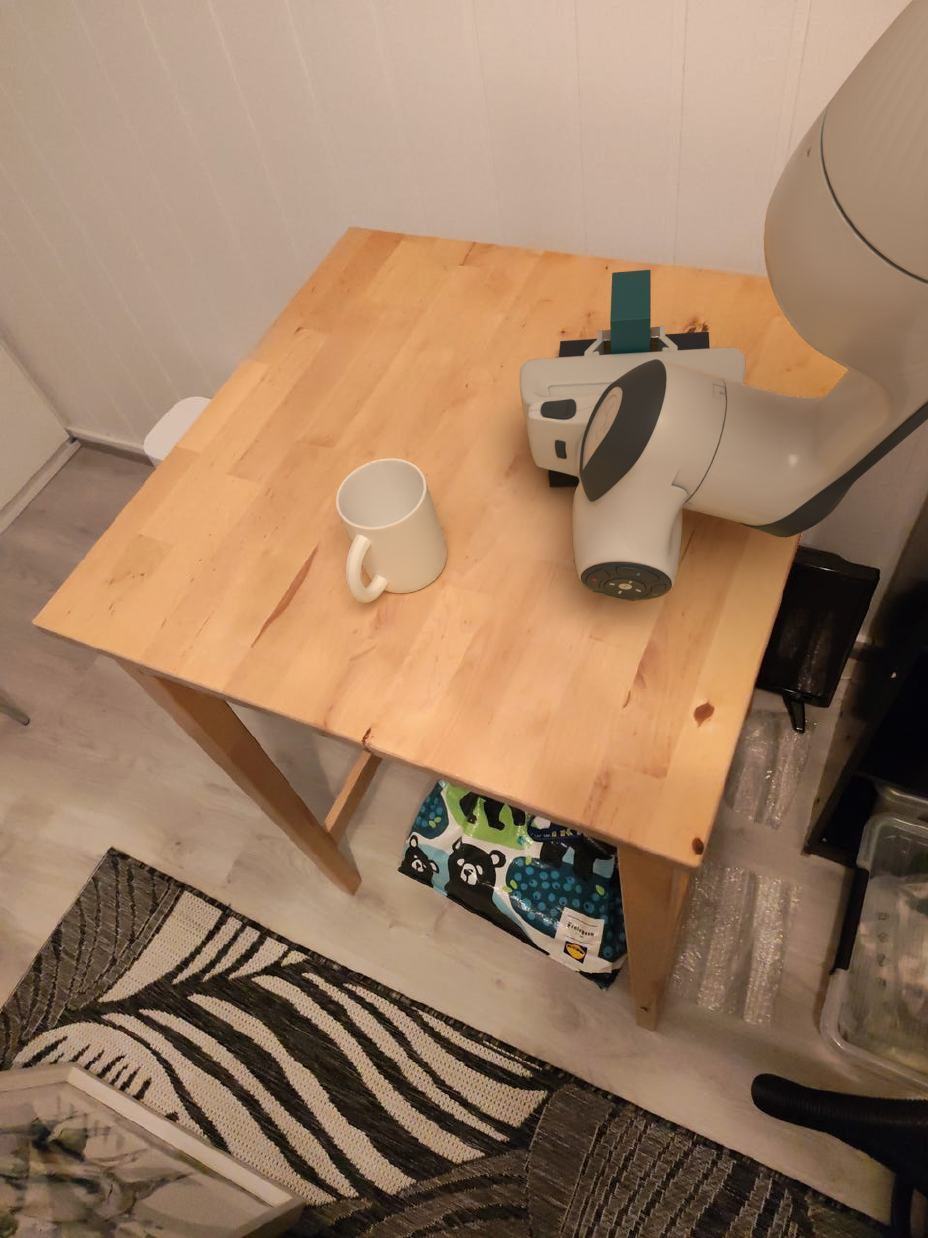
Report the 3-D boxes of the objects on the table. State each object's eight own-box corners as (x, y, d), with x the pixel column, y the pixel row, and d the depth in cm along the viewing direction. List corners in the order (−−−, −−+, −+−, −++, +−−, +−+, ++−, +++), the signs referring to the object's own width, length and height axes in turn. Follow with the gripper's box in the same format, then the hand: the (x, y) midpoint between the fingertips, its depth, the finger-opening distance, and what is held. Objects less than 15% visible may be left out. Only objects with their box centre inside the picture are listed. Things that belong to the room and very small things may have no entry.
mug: (404, 638, 75) (375, 573, 66) (332, 612, 78) (294, 546, 69) (463, 541, 80) (443, 469, 71) (393, 520, 83) (365, 449, 74)
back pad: (648, 364, 83) (650, 268, 74) (648, 412, 80) (650, 317, 71) (614, 366, 84) (612, 272, 75) (612, 413, 81) (610, 320, 71)
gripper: (758, 404, 65) (748, 297, 73) (509, 415, 70) (523, 313, 77) (749, 459, 71) (740, 353, 78) (518, 466, 75) (530, 365, 82)
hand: (630, 333), depth 78 cm, fingers closed on back pad, 3 cm apart
